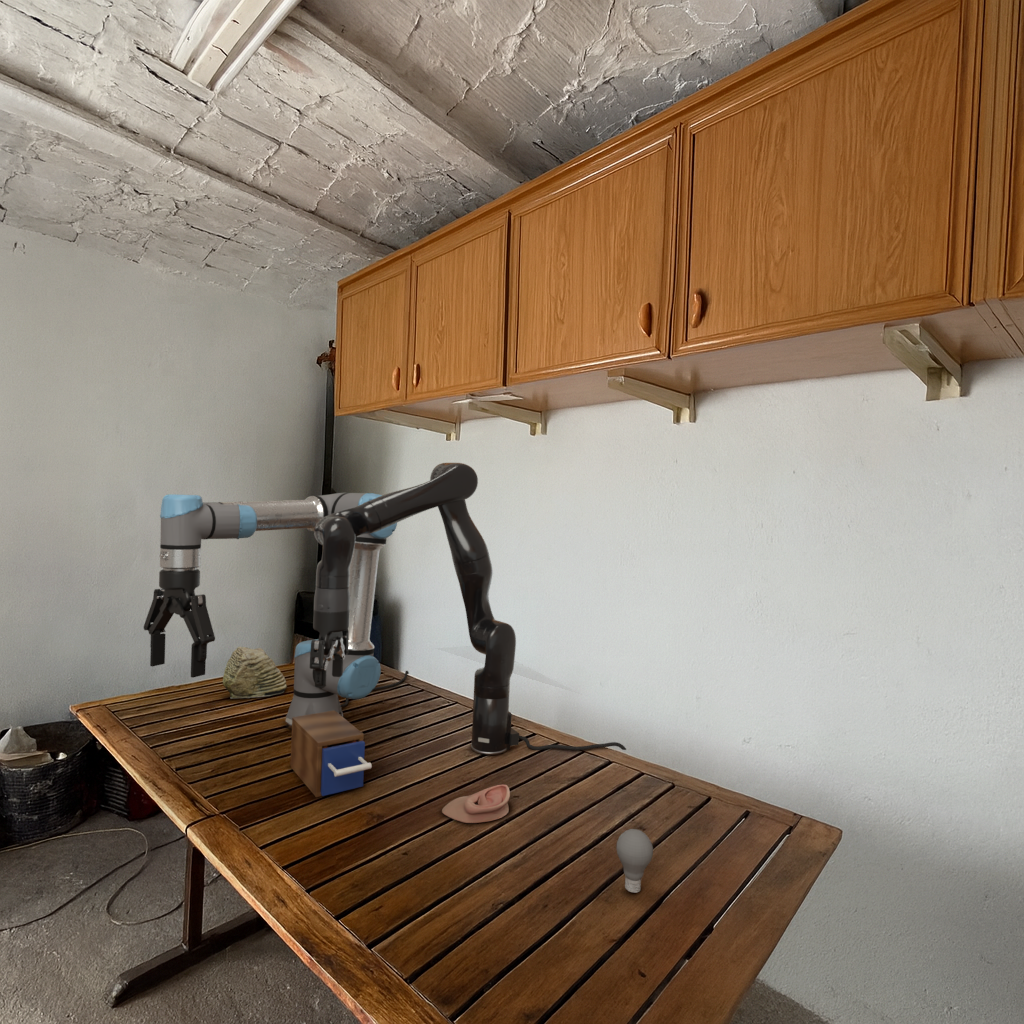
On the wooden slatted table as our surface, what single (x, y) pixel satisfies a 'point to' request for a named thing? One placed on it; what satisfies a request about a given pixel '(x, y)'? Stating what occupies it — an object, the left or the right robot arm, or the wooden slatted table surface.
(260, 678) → the fossil
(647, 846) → the light bulb
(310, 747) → the cabinet
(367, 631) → the left robot arm
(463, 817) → the anatomical model
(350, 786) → the drawer
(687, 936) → the wooden slatted table surface
